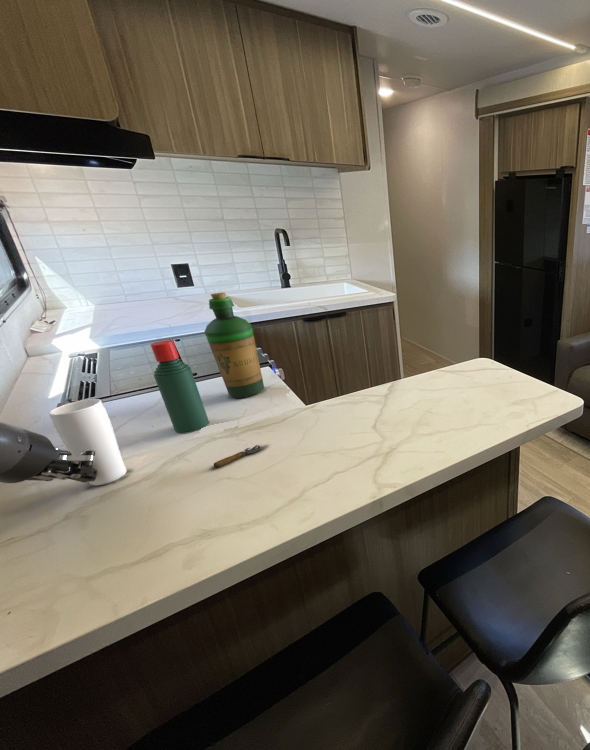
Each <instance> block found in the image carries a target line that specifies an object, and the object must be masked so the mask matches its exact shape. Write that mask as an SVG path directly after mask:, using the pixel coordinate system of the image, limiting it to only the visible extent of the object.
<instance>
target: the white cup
mask: <svg viewBox="0 0 590 750" xmlns="http://www.w3.org/2000/svg"><path fill="white" fill-rule="evenodd" d="M48 415H49V417H50V420H51V423H52V425H53V427H54V429H55V431H56V433H57V435H58V436H59V438H60V440H61V441H62V443H63V444H64V445H65V447H66V448H67V451H69V452H71V453H72V455H81V453H85V451H89V450H92V451H95V457H94V461H93V466H92V468H94V469H97V470H98V472H97V476H96V479H95V481H91V482H88V484H90V485H92V486H103V485H108V484H110V483H113V482H115V481H117V480H119V479H121V478H123V477H124V476H125V475H126V473H127V467H126V465H125V462H124V460H123V457H122V456H123V455H122V453H121V451H120V447H119V444H118V439H117V437H116V434H115V431H114V427H113V424H112V421H111V418H110V416H109V414H108V411H107V409H106V407H105V406H104V404H103V401H102V400H101V399H100V398H89V399H81V400H78V401H77V400H76V401H71V402H68V403H66V404H63V405H60V406H58V407H55V408H53V409H51V410H50V411H49V412H48Z"/></svg>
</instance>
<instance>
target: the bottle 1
mask: <svg viewBox="0 0 590 750" xmlns="http://www.w3.org/2000/svg"><path fill="white" fill-rule="evenodd" d="M153 373H154V374H153V377H154V380H155V383H156V385H157V387H158V390H159V393H160V395H161V398H162V401H163V403H164V406H165V408H166V412H167V414H168V417H169V419H170V422H171V424H172V427H173V430H174V432H175V433H176V434H187V433H192V432H196V431H199V430H201V429H203V428H205V427H207V426H208V425H209V424H210V421H209V418H208V415H207V411H206V409H205V406H204V403H203V399H202V397H201V395H200V391H199V389H198V385H197V383H196V380H195V376H194V374H193V371H192V369H191V367H190V366H189V364H186V362H183V361H182V360H180V359H179V358H177V359H174V360H170V361H165V362H158V364H157V367H156V368H155V370H154V371H153Z"/></svg>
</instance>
